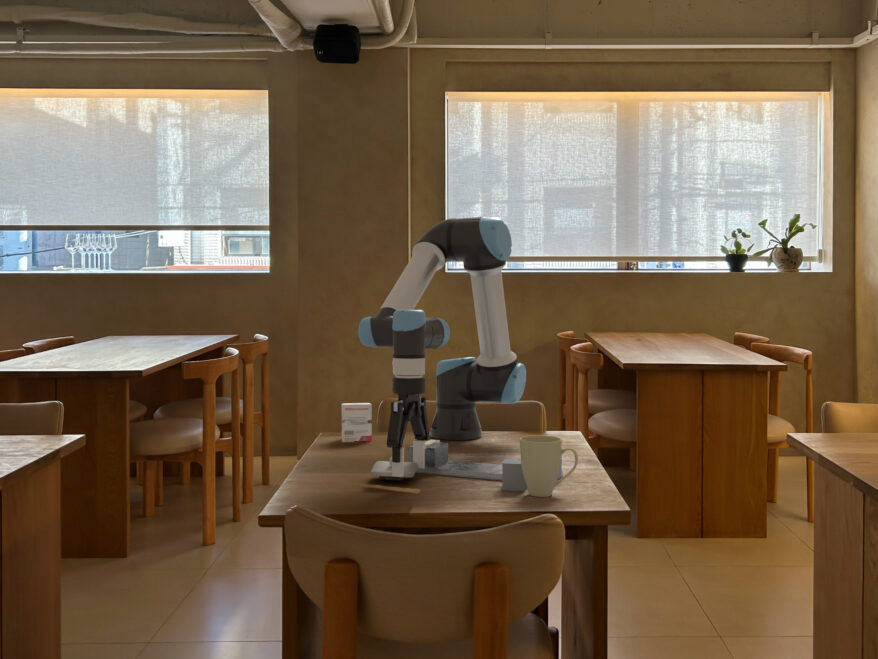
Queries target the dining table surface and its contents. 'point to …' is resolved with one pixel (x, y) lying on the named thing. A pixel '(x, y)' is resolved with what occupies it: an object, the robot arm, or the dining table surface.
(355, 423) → the ink box
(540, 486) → the mug
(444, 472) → the rail
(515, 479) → the block
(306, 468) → the dining table surface
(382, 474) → the grey cover with knob
